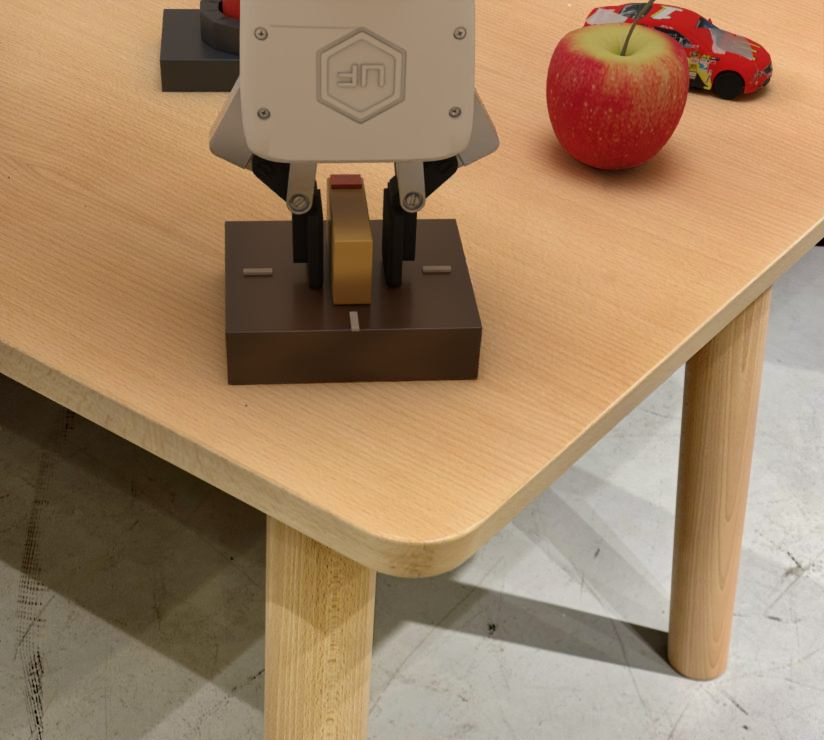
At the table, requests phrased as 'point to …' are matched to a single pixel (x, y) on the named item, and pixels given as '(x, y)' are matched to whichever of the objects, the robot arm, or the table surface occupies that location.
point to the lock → (349, 239)
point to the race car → (700, 46)
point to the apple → (616, 92)
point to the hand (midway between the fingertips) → (353, 268)
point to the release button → (231, 8)
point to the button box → (199, 49)
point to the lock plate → (347, 312)
